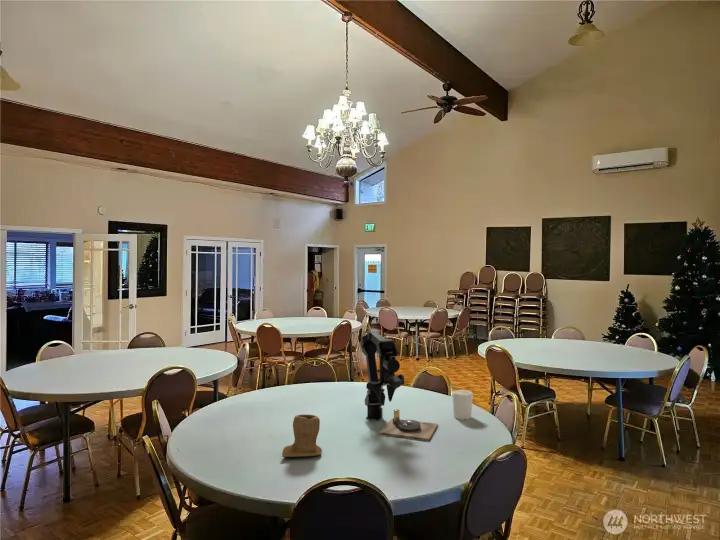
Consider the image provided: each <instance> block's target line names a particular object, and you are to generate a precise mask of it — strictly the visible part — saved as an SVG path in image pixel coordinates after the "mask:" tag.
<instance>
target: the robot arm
mask: <svg viewBox="0 0 720 540" xmlns="http://www.w3.org/2000/svg"><path fill="white" fill-rule="evenodd" d="M359 346H360V348H361V352H362V353H363V354H364V356H365V360H366V368H367V376H368V382H367V383H366V388H365V389H367V390H366V395H365V398H364V405H365V406H366V407H367V408H366V409H367V412H366V413H367V416H366V419H367V420H374V421H380V420H381V419H382V418H383V417H384V416H383V414H384V413H383V410H384V409H383V406H385V403H386V394H385V390H386V391H387V397H388V401H389V402H392V400H393V397H394V394H395V392H396V390H397V389H398V388H400V387H401V386H404V385H405V376H404V375H403V374H398V375H397V374H395V373H397V372H398V371H399V369H400V367H401V366H400V362H399V361H398V359H397V358H396V357H397V356H398V350H397V347H396V344H395V341H394V340H393V339H390V338H385V337H383V336H382V335H381V334H380V333H379V331H377V330H374V331H373V330H371V331H368V332H367V333H366V334H365V335H363V336H362V337H361V339H360V342H359ZM377 352H378V356H379V362H378V363H379V367H377V366H378V365H377V361H376V354H377ZM378 368H379V369H378ZM378 374H379V375H378ZM385 386H386V389H384V387H385Z"/></svg>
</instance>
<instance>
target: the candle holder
mask: <svg viewBox="0 0 720 540" xmlns="http://www.w3.org/2000/svg"><path fill="white" fill-rule="evenodd" d="M451 393H452V407H453V417H454V418H455V419H457V418H458V420H462V419H466V420H469V418H470V419H471V418H472V414H473V412H472V411H473V410H472V409H473V396H474V393H473V391H472V390H466V389H455V390H453V391H452V392H451Z"/></svg>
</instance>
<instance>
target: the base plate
mask: <svg viewBox="0 0 720 540" xmlns="http://www.w3.org/2000/svg"><path fill="white" fill-rule="evenodd" d="M419 422H420V424H421V428H420V430H418V431H414V432H407V431H402V430H400V429H399V428H398V425H397V424H394V423H393V418H391V419H390V420H389V421H388V422H386V424H385V425H384V427H383V428H382V429H381V430H380V431H379V432H378V435H379V436H387V437H395V438H401V439H410V440H418V441H426V442H430V440H431V439H432V437H433V435H434V434H435V432H436V429H438V427H439V424H438V423H434V422H426V421H419Z"/></svg>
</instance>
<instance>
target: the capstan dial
mask: <svg viewBox="0 0 720 540" xmlns="http://www.w3.org/2000/svg"><path fill="white" fill-rule="evenodd" d="M400 413H401V412H400V409H398V408H397V409H394V410H393V418H392V419H393V423H394V424H397V425H398V428H399V429H400V430H402V431H407V432H414V431H418V430H420V428H421V424H420V422H421V421H419V420H415V419H401V418H400V415H401V414H400Z"/></svg>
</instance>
